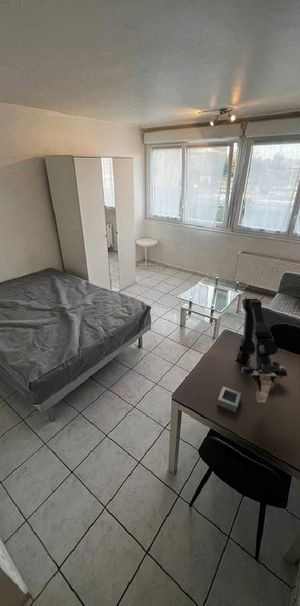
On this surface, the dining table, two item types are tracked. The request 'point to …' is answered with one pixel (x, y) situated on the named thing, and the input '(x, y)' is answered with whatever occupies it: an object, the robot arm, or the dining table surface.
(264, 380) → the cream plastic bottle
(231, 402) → the end cap
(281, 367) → the lion figurine
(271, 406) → the dining table surface
